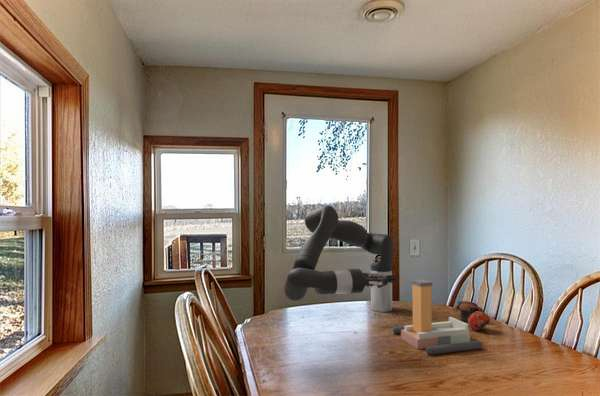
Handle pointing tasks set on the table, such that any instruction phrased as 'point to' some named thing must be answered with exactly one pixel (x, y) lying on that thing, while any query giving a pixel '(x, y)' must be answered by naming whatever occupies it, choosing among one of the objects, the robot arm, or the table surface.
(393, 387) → the table surface
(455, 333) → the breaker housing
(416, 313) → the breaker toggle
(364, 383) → the table surface
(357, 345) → the table surface
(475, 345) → the dark grey bar
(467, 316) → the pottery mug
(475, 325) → the pomegranate
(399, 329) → the cord bundle
